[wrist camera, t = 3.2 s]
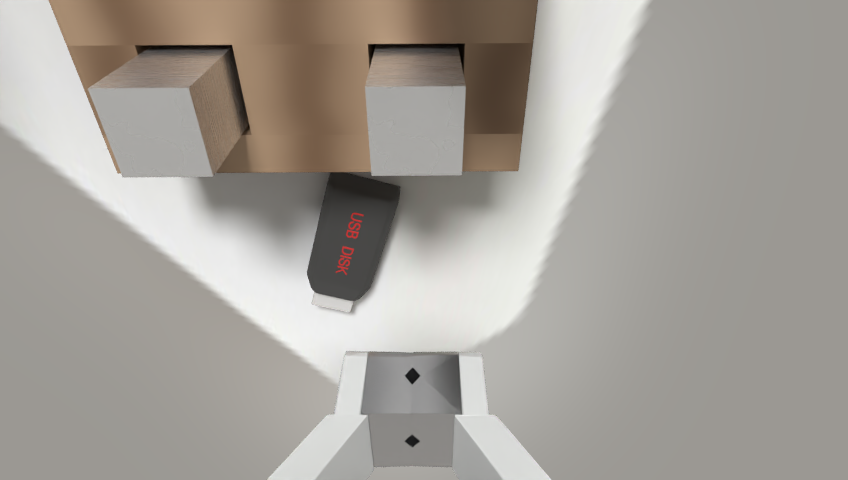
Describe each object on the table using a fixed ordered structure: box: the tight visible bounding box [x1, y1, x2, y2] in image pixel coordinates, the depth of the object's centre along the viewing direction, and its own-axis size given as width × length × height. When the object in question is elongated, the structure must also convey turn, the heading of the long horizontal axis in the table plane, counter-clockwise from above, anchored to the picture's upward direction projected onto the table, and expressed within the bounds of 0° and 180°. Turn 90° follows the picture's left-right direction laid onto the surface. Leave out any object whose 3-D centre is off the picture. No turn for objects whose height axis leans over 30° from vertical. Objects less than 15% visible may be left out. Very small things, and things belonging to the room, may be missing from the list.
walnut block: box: [49, 0, 538, 173], centre depth 29 cm, size 22×9×8 cm, turn 90°
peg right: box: [365, 43, 466, 176], centre depth 24 cm, size 4×4×7 cm
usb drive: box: [307, 172, 400, 312], centre depth 40 cm, size 5×12×3 cm, turn 163°
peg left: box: [88, 45, 249, 177], centre depth 24 cm, size 4×4×7 cm
